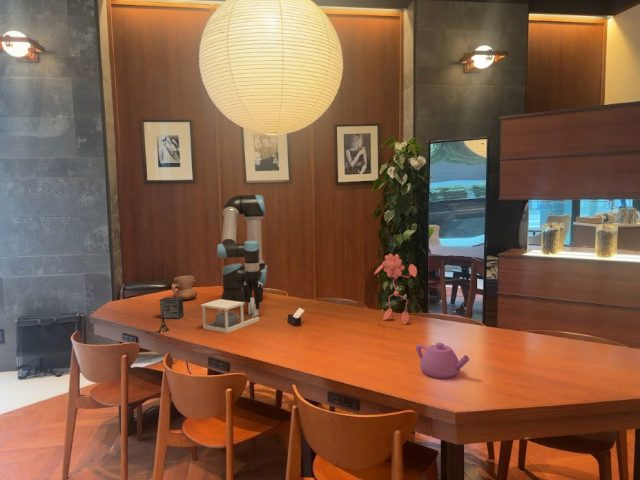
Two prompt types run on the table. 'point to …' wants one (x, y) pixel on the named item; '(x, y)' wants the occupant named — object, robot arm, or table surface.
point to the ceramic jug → (184, 288)
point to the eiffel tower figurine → (161, 326)
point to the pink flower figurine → (395, 269)
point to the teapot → (440, 361)
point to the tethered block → (233, 316)
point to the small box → (172, 308)
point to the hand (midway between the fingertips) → (253, 314)
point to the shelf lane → (225, 306)
